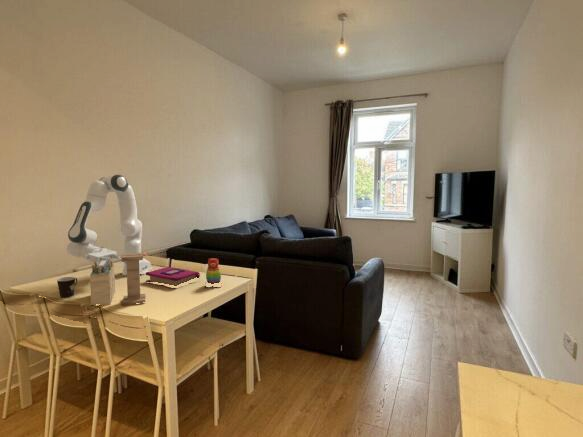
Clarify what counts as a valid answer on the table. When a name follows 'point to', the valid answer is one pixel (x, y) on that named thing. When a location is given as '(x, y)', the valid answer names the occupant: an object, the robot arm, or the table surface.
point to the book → (172, 275)
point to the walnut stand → (133, 279)
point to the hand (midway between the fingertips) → (114, 258)
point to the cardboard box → (102, 285)
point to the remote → (103, 265)
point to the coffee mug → (66, 286)
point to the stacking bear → (213, 271)
